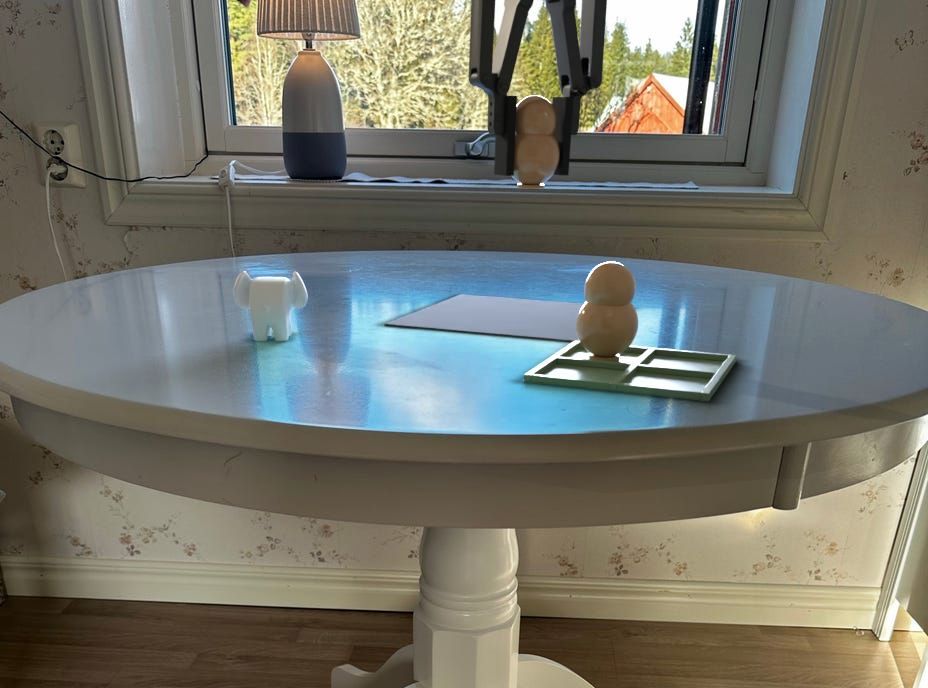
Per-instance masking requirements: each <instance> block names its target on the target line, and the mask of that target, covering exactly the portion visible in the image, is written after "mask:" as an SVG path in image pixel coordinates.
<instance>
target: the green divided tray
mask: <svg viewBox="0 0 928 688" xmlns="http://www.w3.org/2000/svg"><path fill="white" fill-rule="evenodd" d="M589 354H590V353H589V352H588V351H587V350H586V349H585V348H584V347H583V346H582V345H581V344H580V342H579V341H574V342H570V343H569V344H568V345H566V346H565V347H563V348H561V349H560V350H558V351H557V352H555V353H554V354H553V355H551V356H549V357H547V359H545V360H544V361H542V362H541V363H539V364H537V365H536V366H535V367H533V368H532V369H530V370H528V371H527V372H526V373H524V374H523V380H522V381H523V382H524V383H531V384H532V383H533V384H540V385H551V386H561V387H568V388H578V389H589V390H596V391H597V390H598V391H608V392H618V393H624V394H625V393H627V394H635V395H636V394H637V395H645V396H654V397H664V398H673V399H683V400H693V401H702V402H709V401H710V400H711V398H712V397H713V395H714V394H715V393H716V391H717V389H718V388H719V387H720V385H721V384H722V383H723V381H724V379H725V378H727V377H726V376H728V374H729V372H730V371H731V370H732V368H733V367H734V365H735V364H736V362H737V357H738V355H737V354H729V353H718V352H706V351H695V350H686V349H685V350H684V349H673V348H663V347H650V346H639V345H630V346H629V347H628V348H627V349H626V350H625V351H623V352H622V353H620V354H619V355H620V358H619V360H617V361H602V360H591V359H589Z"/></svg>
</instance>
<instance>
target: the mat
mask: <svg viewBox="0 0 928 688" xmlns="http://www.w3.org/2000/svg"><path fill="white" fill-rule="evenodd" d="M584 303H585V302H571V301H557V300H546V299H545V300H544V299H530V298H517V297H503V296H491V295H478V294H464V293H460V294H457V295H455V296H453V297H450V298H447V299H445V300H441V301H440V302H437V303H435V304H432V305H430V306H426V307H424V308H422V309H419V310H416V311H414V312H412V313H409V314H406V315H403V316H402V317H398V318H396V319H394V320H390V321H388V322H385V323H383V324H384V327H395V328H404V329H405V328H407V329H419V330H431V331H442V332H455V333H464V334H474V335H475V334H477V335H487V336H497V337H498V336H499V337H511V338H522V339H532V340H544V341H555V342H565V343H566V342H568V343H572V342H574V341H579V340H578V337H577V334H576V319H577V315H578V313H579V310H580V309H581V307H582V306H583V304H584Z"/></svg>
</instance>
